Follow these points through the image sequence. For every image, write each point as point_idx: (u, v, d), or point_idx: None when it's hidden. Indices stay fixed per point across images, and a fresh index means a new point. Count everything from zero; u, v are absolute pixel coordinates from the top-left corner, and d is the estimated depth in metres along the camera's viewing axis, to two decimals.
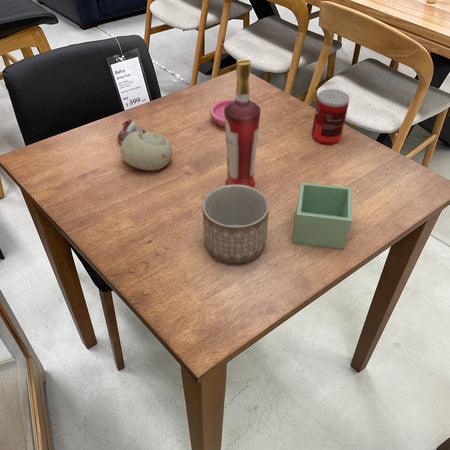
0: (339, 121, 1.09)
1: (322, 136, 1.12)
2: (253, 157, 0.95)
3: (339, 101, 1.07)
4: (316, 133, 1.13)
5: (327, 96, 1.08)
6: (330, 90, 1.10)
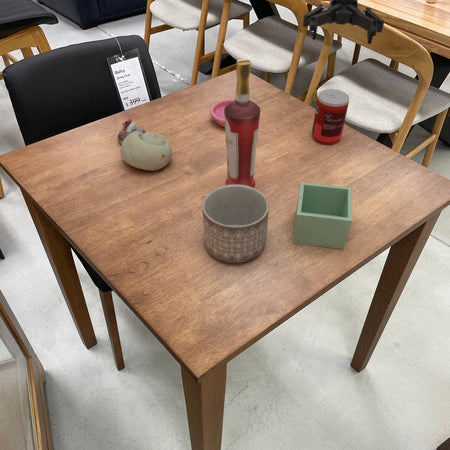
0: (339, 121, 1.09)
1: (322, 136, 1.12)
2: (253, 157, 0.95)
3: (339, 101, 1.07)
4: (316, 133, 1.13)
5: (327, 96, 1.08)
6: (330, 90, 1.10)
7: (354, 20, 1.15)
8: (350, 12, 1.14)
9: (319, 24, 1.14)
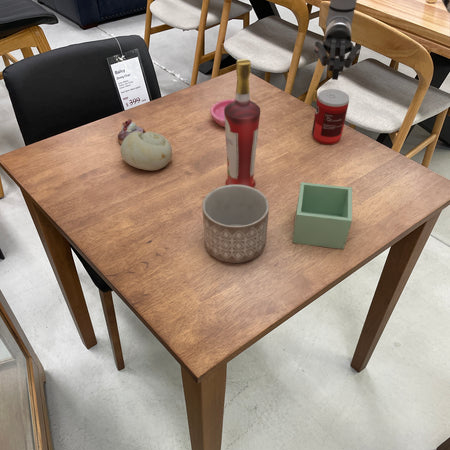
0: (339, 121, 1.09)
1: (322, 136, 1.12)
2: (253, 157, 0.95)
3: (339, 101, 1.07)
4: (316, 133, 1.13)
5: (327, 96, 1.08)
6: (330, 90, 1.10)
7: (339, 54, 1.21)
8: None
9: None
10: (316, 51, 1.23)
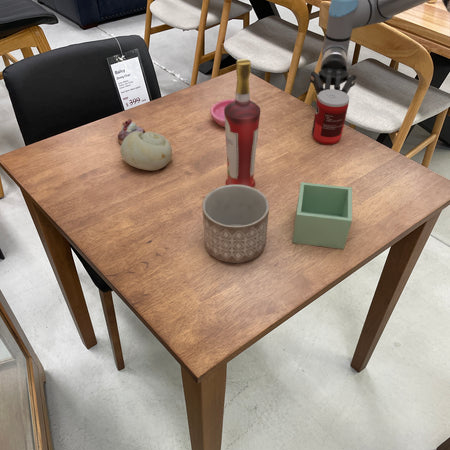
0: (339, 121, 1.09)
1: (322, 136, 1.12)
2: (253, 157, 0.95)
3: (339, 101, 1.07)
4: (316, 134, 1.13)
5: (327, 96, 1.08)
6: (330, 90, 1.10)
7: (334, 84, 1.23)
8: None
9: None
10: (312, 81, 1.24)
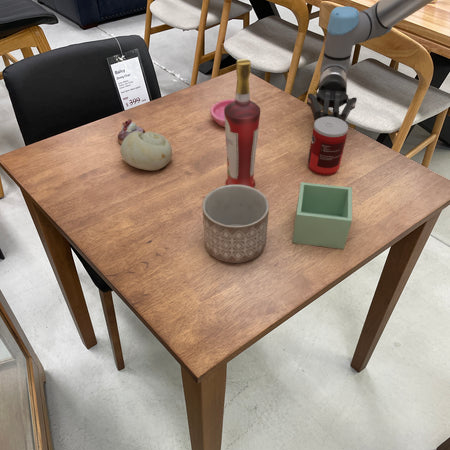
0: (337, 152, 1.01)
1: (319, 167, 1.04)
2: (253, 157, 0.95)
3: (337, 131, 0.98)
4: (312, 164, 1.05)
5: (324, 125, 1.00)
6: (327, 118, 1.01)
7: (333, 107, 1.14)
8: None
9: None
10: (309, 103, 1.16)
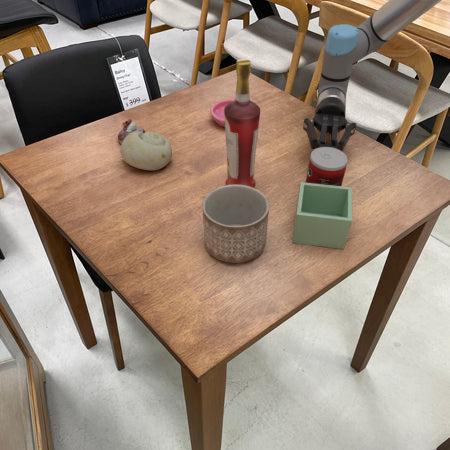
0: (336, 185, 0.93)
1: None
2: (253, 157, 0.95)
3: (336, 163, 0.90)
4: None
5: (321, 156, 0.92)
6: (324, 148, 0.93)
7: (331, 133, 1.06)
8: None
9: None
10: (305, 129, 1.08)
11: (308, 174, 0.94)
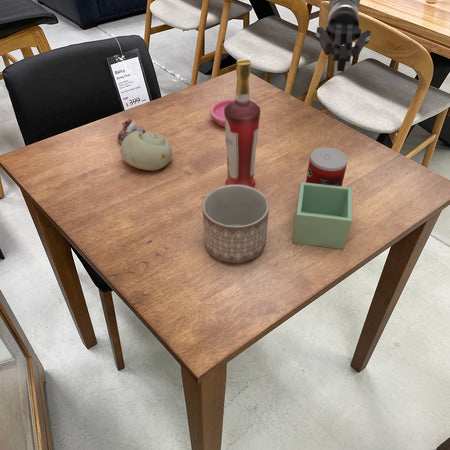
0: (336, 185, 0.93)
1: None
2: (253, 157, 0.95)
3: (336, 163, 0.90)
4: None
5: (321, 157, 0.92)
6: (324, 149, 0.93)
7: (345, 41, 1.03)
8: None
9: None
10: (318, 38, 1.04)
11: (308, 174, 0.94)
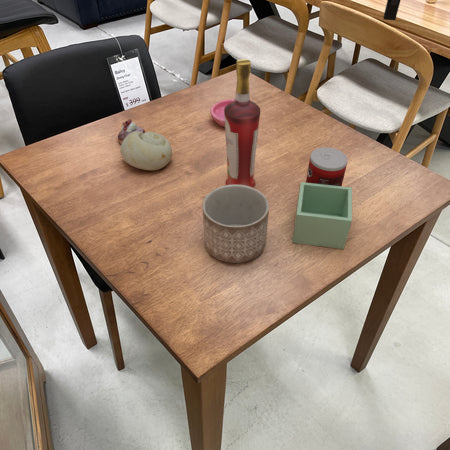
0: (336, 185, 0.93)
1: None
2: (253, 157, 0.95)
3: (336, 163, 0.90)
4: None
5: (321, 157, 0.92)
6: (324, 149, 0.93)
7: None
8: None
9: None
10: None
11: (308, 174, 0.94)
